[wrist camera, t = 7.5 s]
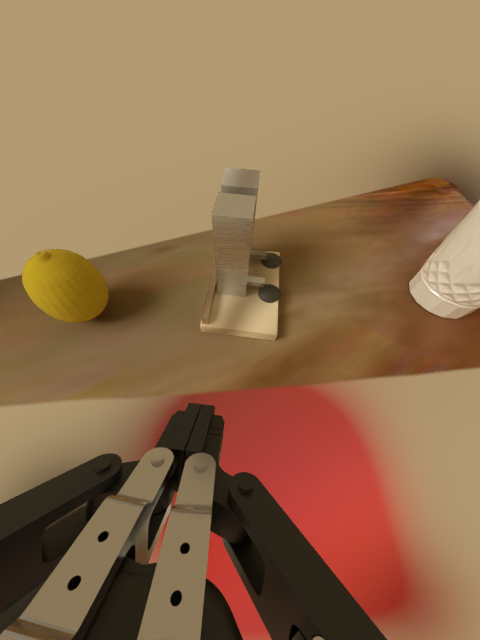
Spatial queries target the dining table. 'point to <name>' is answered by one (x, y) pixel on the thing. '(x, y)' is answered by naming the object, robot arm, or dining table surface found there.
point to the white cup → (452, 272)
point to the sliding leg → (233, 243)
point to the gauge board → (259, 302)
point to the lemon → (65, 285)
